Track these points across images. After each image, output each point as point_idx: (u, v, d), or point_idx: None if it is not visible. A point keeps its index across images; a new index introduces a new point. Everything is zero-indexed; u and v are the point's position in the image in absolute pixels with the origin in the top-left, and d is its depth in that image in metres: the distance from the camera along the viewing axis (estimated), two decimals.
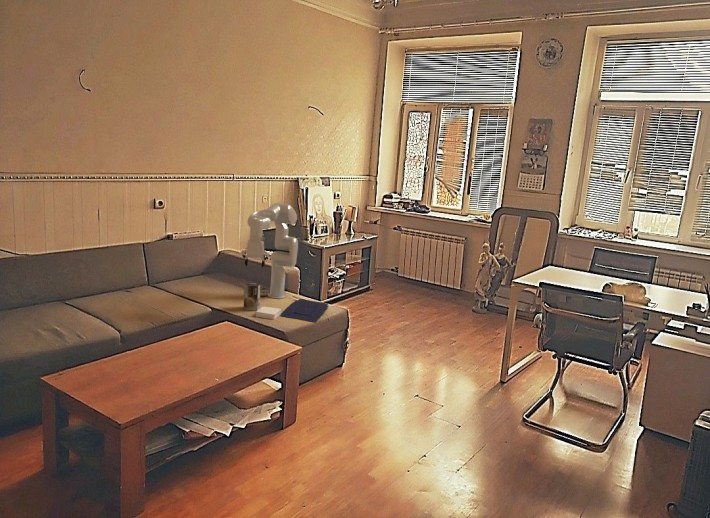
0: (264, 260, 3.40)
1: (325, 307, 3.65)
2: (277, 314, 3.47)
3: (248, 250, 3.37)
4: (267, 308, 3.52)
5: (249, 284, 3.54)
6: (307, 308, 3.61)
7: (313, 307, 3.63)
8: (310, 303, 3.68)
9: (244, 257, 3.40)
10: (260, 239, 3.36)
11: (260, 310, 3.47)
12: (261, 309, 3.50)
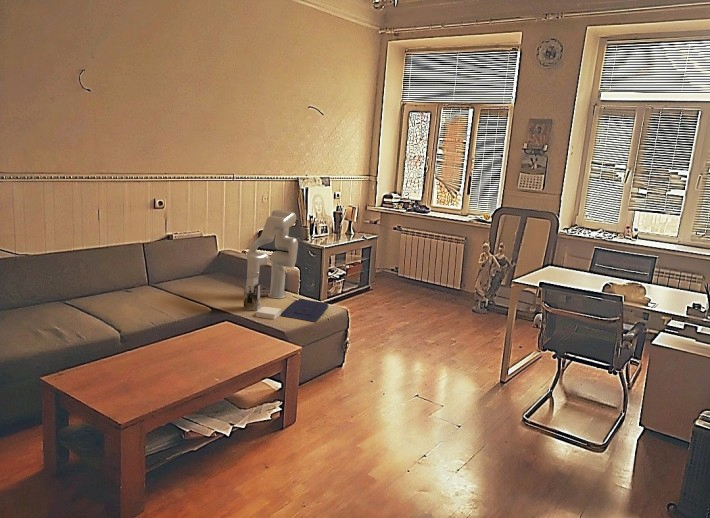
0: None
1: (325, 306, 3.65)
2: (277, 314, 3.47)
3: (253, 287, 3.51)
4: (267, 308, 3.52)
5: None
6: (307, 308, 3.61)
7: (313, 307, 3.63)
8: (310, 303, 3.69)
9: (250, 295, 3.51)
10: None
11: (260, 310, 3.47)
12: (261, 309, 3.50)
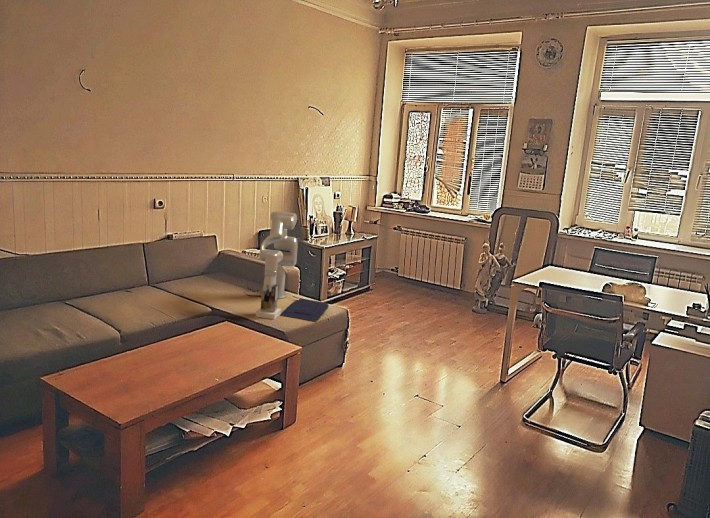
0: None
1: (325, 306, 3.66)
2: (277, 314, 3.47)
3: (271, 285, 3.41)
4: None
5: None
6: (307, 308, 3.62)
7: (313, 307, 3.64)
8: (310, 303, 3.69)
9: (267, 294, 3.40)
10: None
11: (260, 310, 3.47)
12: None
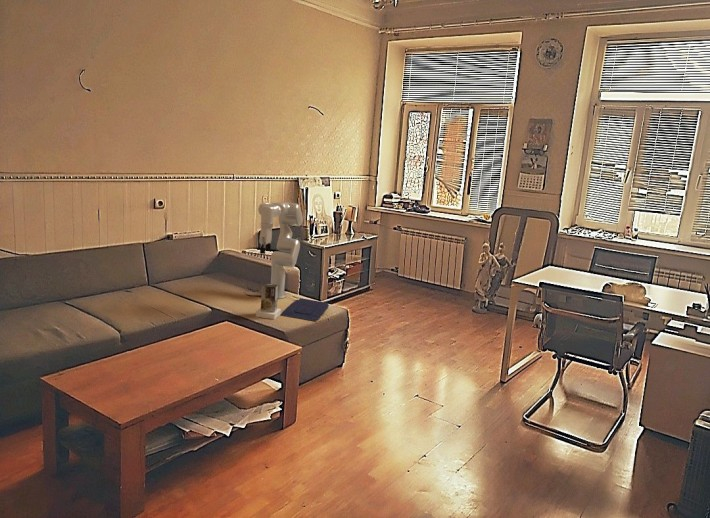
0: (270, 244, 3.60)
1: (326, 306, 3.66)
2: (277, 314, 3.47)
3: (267, 238, 3.49)
4: None
5: (266, 285, 3.45)
6: (308, 307, 3.62)
7: (314, 306, 3.64)
8: (311, 302, 3.70)
9: (263, 246, 3.48)
10: None
11: (260, 310, 3.47)
12: None
